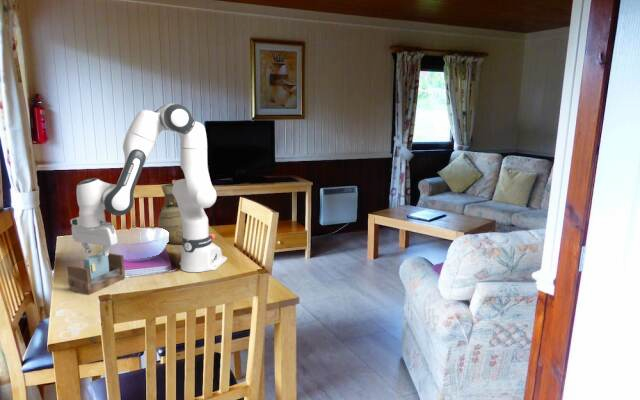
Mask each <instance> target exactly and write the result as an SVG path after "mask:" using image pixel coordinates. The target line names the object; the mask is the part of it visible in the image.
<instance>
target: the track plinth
mask: <svg viewBox="0 0 640 400" xmlns="http://www.w3.org/2000/svg"><path fill="white" fill-rule="evenodd" d="M124 261H125V260H124V255H122V254H117V253H111V252H109V255H108V262H109V272H108V273H106V274H103V275H101V276H98V277H96V278H94V279H91V280H90V272H89V269H87V268H84V267H82V266H76V265H71V264H70V265H67V266H66V268H67V276H68V277H67V279H68V286H69V291H70V292H74V293H79V294H83V295H87V296H90V295H92V294H94V293H97V292H99V291H101V290H102V289H105V288H107V287H110V286H112V285H114V284H117V283H118V282H121V281H123V280H125V279H126V273H125V262H124ZM124 278H125V279H124ZM120 280H121V281H120ZM111 284H112V285H111ZM109 285H110V286H109Z"/></svg>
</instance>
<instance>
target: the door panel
mask: <svg viewBox="0 0 640 400" xmlns="http://www.w3.org/2000/svg"><path fill="white" fill-rule="evenodd" d="M102 252H103V251H101V252H98V253H95V254H93V255H91V256H88V257H85V258H82V259H83V261H82V262H83V266H84V267H83V268H87V269H89V272H90V280H91V279H94V278H96V277H98V276H101V275H103V274H106V273H108V272H109V262H108V256H103V253H102Z"/></svg>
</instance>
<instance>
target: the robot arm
mask: <svg viewBox="0 0 640 400" xmlns="http://www.w3.org/2000/svg"><path fill="white" fill-rule="evenodd" d="M133 118H134V119H133V120H132V121H131V122H130V123H131V124H130V125H129V127H128V129H127V132H126V134H125V137H124V140H123V143H122V150H123V154H124V164H123V165H124V166H123V168H122V171H121V173H120V176H119V178H118V181H117V183H116V184H114V183H109V182H105V181H103V180H101V179H99V178H97V177H92V178H91V177H90V178H86V179H84V180H82V181H80V182H79V183H77V184H76V200H77V205H78V208H79V211H78V216H77V217H75V218H72V219H70V225H71V236H72V239H73V240H74V242H77V243H80V245H81V246H82V247H83V249H84V253H85V254H90V253H92V248H91V247H90V246H89V244H90V245H96V246H97V245H98V246H103V249H104V250H103V251H101V252H102V253H103V256H108V255H109V253H110V249H111V247H113V246H116V245H117V244H118V241H119V240H118V235H117V232H116V229H115V226H114V225H113V224H112V222H109V221H108V222H107V221H106V214H105V210H106V211H107V212H108V213H109V214H111V215H113V216H118V217H120V216H124V215H126V214H128V213H129V212H130V211H131V210H132V209H133V207H134V201H135V200H134V192H135V188H136V186H137V183H138V181H139V178H140V176H141V173H142V170H143V168H144V165H145V163H146V161H147V160H148V158H149V156H150V154H151V152H152V150H153V148H154V146H155V145H156V144H155V143H156V141H157V139H158V137H159V135H160V134H161V133H162V132H163V131H164V130H165V131H170V132H176V133H177V134H178V136H179V141H180V142H179V143H180V144H179V145H180V147H179V149H180V151H179V152H180V154H179V156H180V157H179V160H180V161H179V162H180V168H181V170H182V171H183V174H184V178H181V179H178V180H177V181H175V182H174V183H173V184H174V185H173V188H172V193H173V195H174V197H175V199H176V201H177V204H178V207H179V211H180V215H181V219H182V230H183V237H182V244H181V246H182V247H181V250H180V251H181V253H180V254H181V255H180V257H181V258H180V261H179V266H180V270H182V272H183V271H184V272H186V273H202V272H207V271H216V270H217V269H218V268H219V267H220V266H222V265H223V264H224V263H225V262H226V261H228V257H227V256H224V255H223V253H222V252H223V251H222V248H221V247H220V246H218V245H217V244H216V243H214V242H212V240H214V239H215V238H216V234H214V233H213V234H212V233H210V231H209V230H210V229H209V218H208V216H207V215H208V214H206V212H205V209H207V208H211V207H213V205H214V204H215V203H216V201H217V194H218V193H217V191H216V189H215V188H214V186H213V184H212V181H211V177H210V172H209V165H208V138H207V132H206V127H205V125H204V124H203V123H201V122H199V121H196V120H194V117H193V115H192V113H191V112H190V110H189V109H188V108H187V107H186V106H184V105H183V104H180V103H168V104H164V105H162V106H160V107H159V108H158V109H156V110H154V111H153V110H150V109H142V110H140V111H139V112H138V113H137V114H136V115H135V116H134V117H133Z"/></svg>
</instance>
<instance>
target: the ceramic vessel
mask: <svg viewBox="0 0 640 400" xmlns="http://www.w3.org/2000/svg"><path fill="white" fill-rule="evenodd" d="M173 185H174V183H165V184H163V185H161V190H162V192H163V194H164V195H163V196H164V203H165V204H164V205H163V206H162V207H161V208H160V213H159V216H158V229H159V228H163V229H165V230H167V231H168V232H169V242H168V243H167V244H170V245H182V237H183V230H182V219H181V215H180V211H179V207H178V204H177V201H176V199H175V197H174V195H173V193H172V188H173Z"/></svg>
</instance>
